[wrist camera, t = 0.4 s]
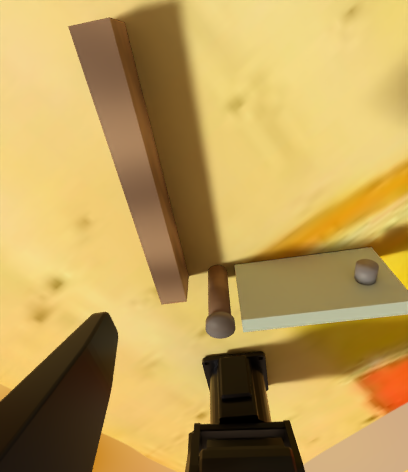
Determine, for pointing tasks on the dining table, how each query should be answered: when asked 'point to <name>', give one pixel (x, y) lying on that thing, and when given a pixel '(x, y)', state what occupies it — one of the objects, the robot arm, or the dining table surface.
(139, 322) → the dining table surface
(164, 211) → the bar
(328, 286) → the door
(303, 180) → the dining table surface
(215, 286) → the hinge post
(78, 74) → the dining table surface
